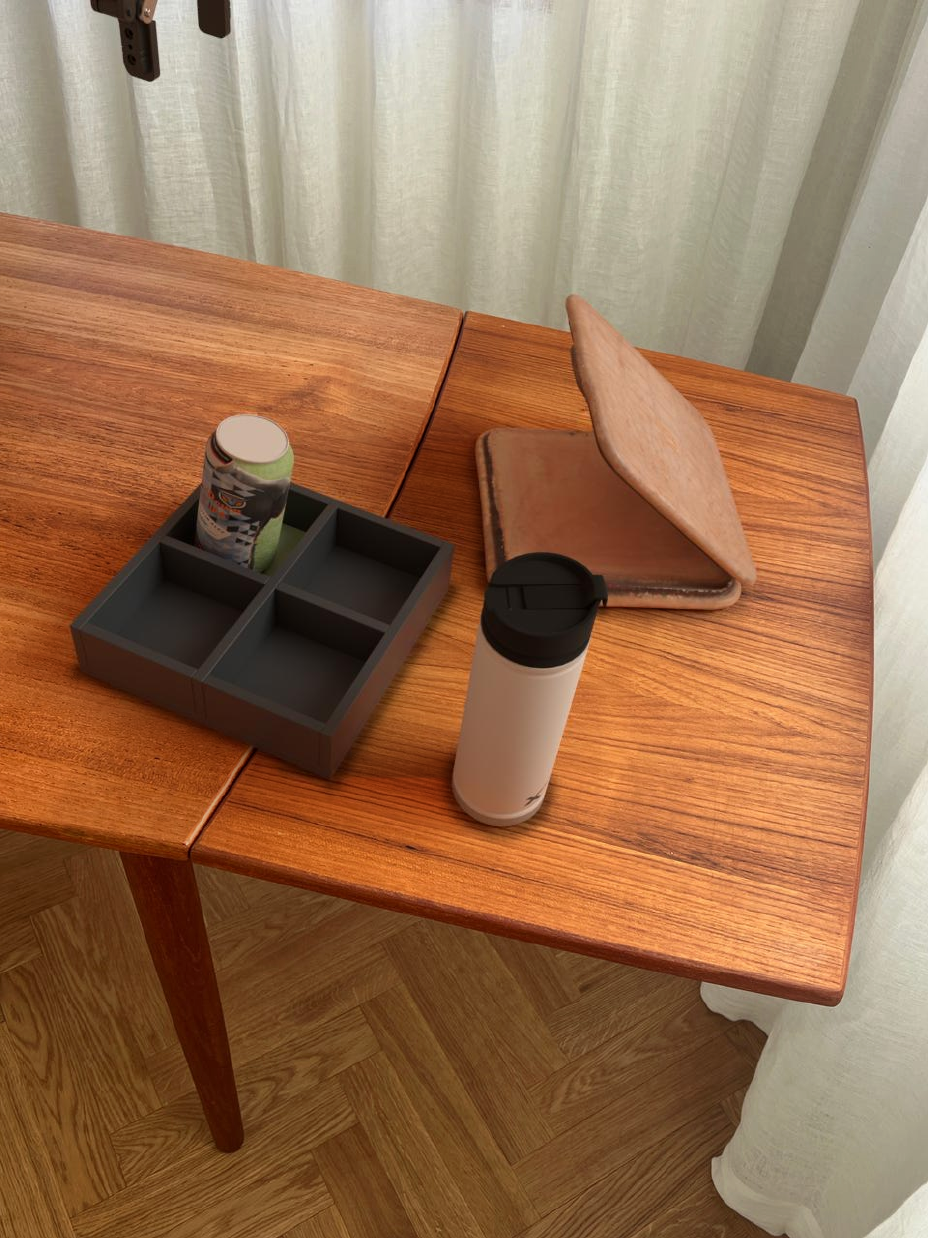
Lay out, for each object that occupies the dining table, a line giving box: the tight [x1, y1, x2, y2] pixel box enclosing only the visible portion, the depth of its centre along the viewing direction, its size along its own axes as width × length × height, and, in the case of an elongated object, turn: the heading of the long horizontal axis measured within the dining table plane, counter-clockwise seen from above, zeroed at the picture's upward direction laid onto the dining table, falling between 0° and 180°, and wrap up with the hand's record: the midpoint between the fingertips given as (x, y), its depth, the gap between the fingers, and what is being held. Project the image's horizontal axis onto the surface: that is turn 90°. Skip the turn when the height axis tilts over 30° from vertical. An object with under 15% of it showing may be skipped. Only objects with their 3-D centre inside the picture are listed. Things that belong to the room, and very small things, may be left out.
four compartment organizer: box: [69, 481, 456, 781], centre depth 79 cm, size 19×19×5 cm
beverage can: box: [195, 413, 295, 573], centre depth 79 cm, size 6×7×12 cm
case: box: [474, 293, 757, 611], centre depth 86 cm, size 20×21×16 cm
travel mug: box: [451, 552, 608, 828], centre depth 67 cm, size 6×7×20 cm
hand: (180, 54), depth 76 cm, fingers open, 8 cm apart
